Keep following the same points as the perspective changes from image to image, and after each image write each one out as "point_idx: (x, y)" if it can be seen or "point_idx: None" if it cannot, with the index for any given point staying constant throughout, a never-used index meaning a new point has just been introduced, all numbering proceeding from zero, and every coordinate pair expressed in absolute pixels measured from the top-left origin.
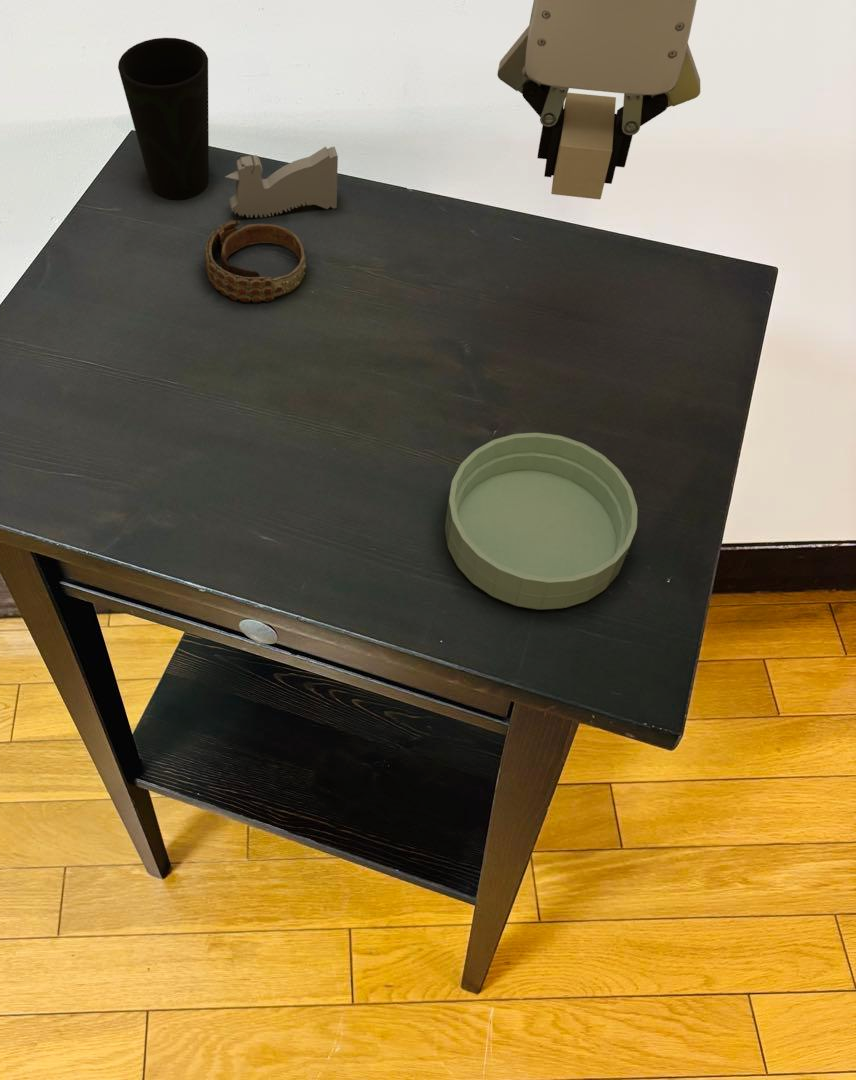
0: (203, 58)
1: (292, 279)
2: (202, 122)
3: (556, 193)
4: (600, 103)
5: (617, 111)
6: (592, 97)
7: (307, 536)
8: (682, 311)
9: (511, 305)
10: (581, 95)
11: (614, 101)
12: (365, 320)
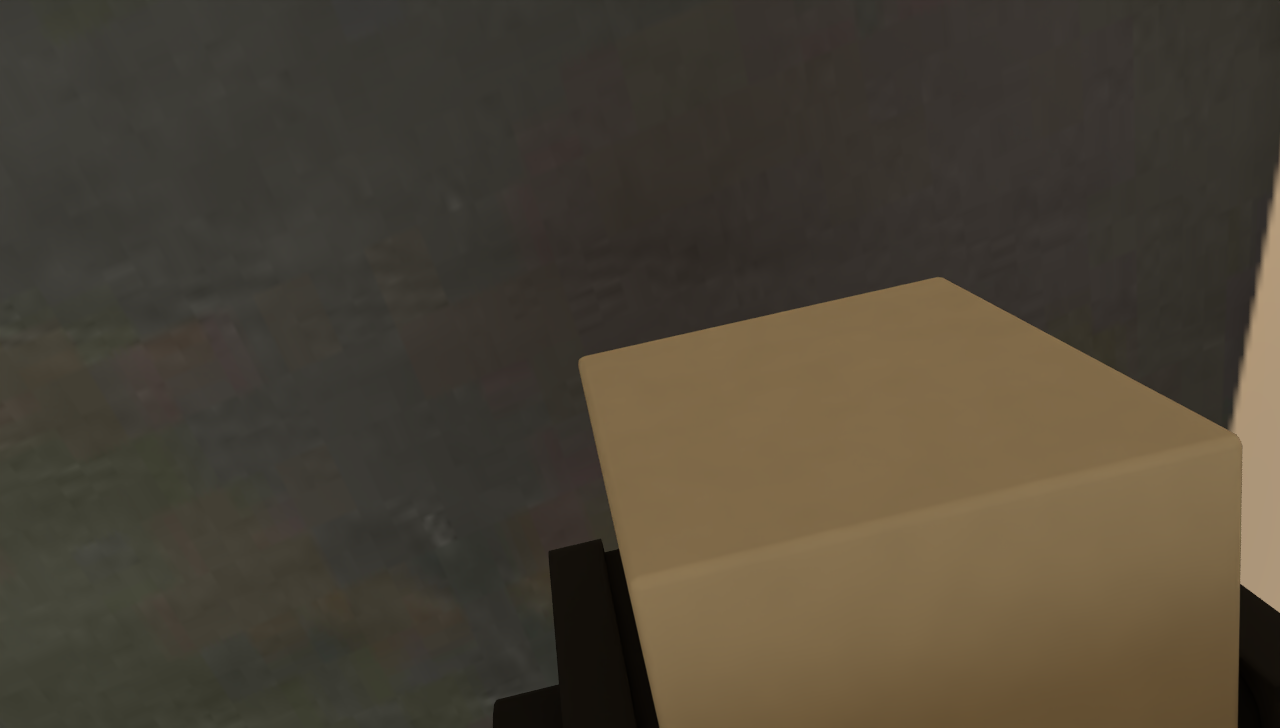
0: None
1: None
2: None
3: None
4: (1072, 632)
5: (1273, 711)
6: (967, 569)
7: None
8: (1065, 82)
9: (503, 289)
10: (825, 577)
11: (1230, 533)
12: (62, 556)
